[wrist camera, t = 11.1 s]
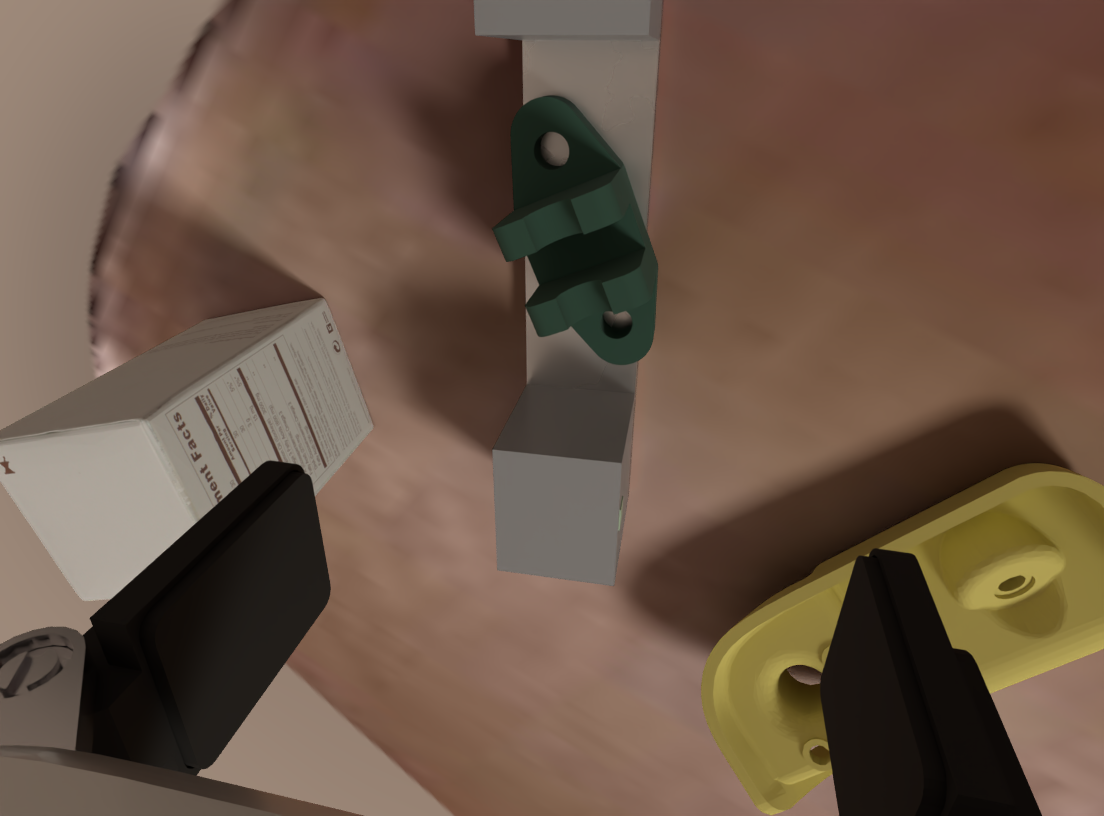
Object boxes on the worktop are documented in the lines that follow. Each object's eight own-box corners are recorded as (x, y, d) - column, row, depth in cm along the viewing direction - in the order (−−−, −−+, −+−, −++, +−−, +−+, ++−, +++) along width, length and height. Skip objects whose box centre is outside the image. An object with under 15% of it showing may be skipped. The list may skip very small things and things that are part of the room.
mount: (682, 338, 29) (680, 387, 24) (586, 366, 30) (567, 418, 26) (593, 73, 25) (570, 76, 20) (487, 121, 26) (445, 134, 22)
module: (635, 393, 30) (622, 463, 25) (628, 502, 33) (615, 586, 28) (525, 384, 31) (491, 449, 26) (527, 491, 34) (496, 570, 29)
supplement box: (260, 443, 37) (74, 606, 26) (202, 316, 34) (-36, 440, 23) (380, 429, 35) (234, 599, 24) (330, 293, 32) (136, 416, 21)
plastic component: (1078, 447, 26) (1259, 680, 24) (1030, 431, 33) (1169, 613, 31) (663, 656, 33) (779, 848, 32) (694, 608, 40) (791, 764, 38)
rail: (675, -170, 22) (674, -177, 21) (628, 493, 34) (627, 502, 33) (525, -162, 23) (519, -169, 22) (531, 482, 35) (528, 491, 34)
